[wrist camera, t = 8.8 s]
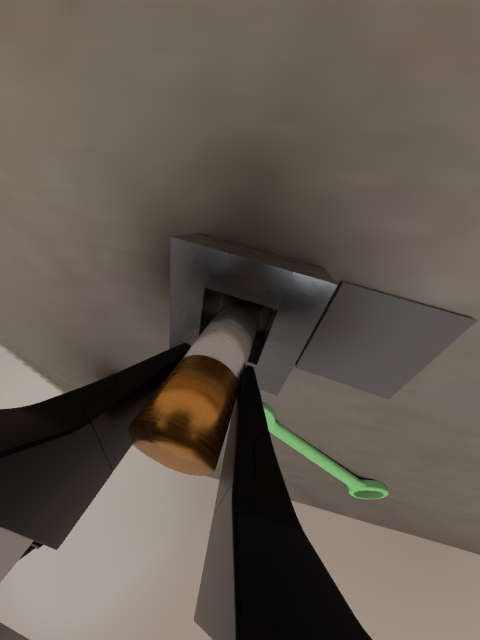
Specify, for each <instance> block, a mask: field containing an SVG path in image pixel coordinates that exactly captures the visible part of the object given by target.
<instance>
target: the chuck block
mask: <svg viewBox="0 0 480 640" xmlns="http://www.w3.org/2000/svg"><path fill="white" fill-rule="evenodd" d="M337 286H338V284H337V283H336V282H335V280H334V279H333V278H332V277H331V276H330V274H329V273H328V272H327V271H326V269H325V268H321V267H317V266H314V265H310V264H307V263H303V262H300V261H296V260H293V259H289V258H285V257H282V256H278V255H275V254H271V253H268V252H264V251H261V250H257V249H253V248H250V247H246V246H243V245H239V244H236V243H232V242H229V241H225V240H221V239H218V238H214V237H211V236H207V235H204V234H200V233H198V234H189V235H179V236H170V349H171V348H173V347H176V346H178V345H180V344H182V343H187V344H189V345H191V346H192V345H193V344H194V343H195V341H196V340H197V339H198V338H199V336H200V335H201V334H202V332H203V331H204V330H205V329H206V327H207V326H208V325H209V324H210V322H211V321H212V320H213V319H214V317H215V316H216V315H217V310H218V304H219V298H220V292H221V293H224V294H227V295H231V296H234V297H237V298H240V299H243V300H247V301H250V302H253V303H256V304H259V305H263V306H266V307H269V308H272V309H273V312H272V315H271V317H270V320H269V323H268V325H267V328H266V331H265V333H264V336H260V335H257V334H255V338H254V341H253V344H252V348H251V351H250V355H249V358H248V361H247V365H250V366H252V367H254V370H255V374H256V378H257V382H258V387H259V389H261V390H264V391H266V392H269V393H272V394H275V395H278V393H279V392H280V390H281V388H282V386H283V384H284V382H285V381H286V379H287V377H288V375H289V373H290V371H291V370H292V368H293V366H294V364H295V362H296V361H297V359H298V357H299V355H300V353H301V351H302V350H303V348H304V346H305V344H306V342H307V340H308V339H309V337H310V335H311V333H312V331H313V330H314V328H315V326H316V324H317V322H318V320H319V319H320V317H321V315H322V313H323V311H324V309H325V308H326V306H327V304H328V302H329V300H330V299H331V297H332V295H333V293H334V291H335V289H336V288H337Z"/></svg>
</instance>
